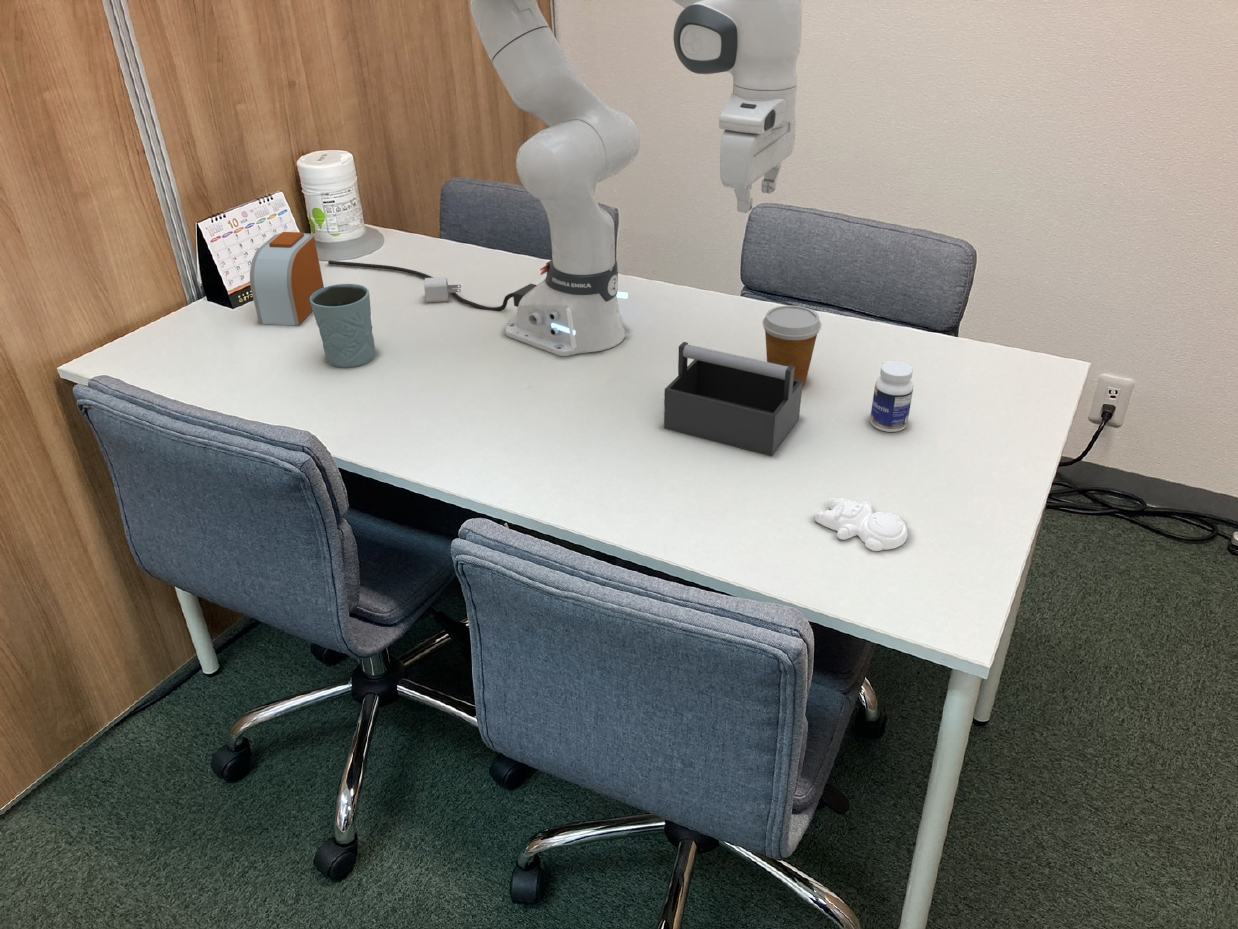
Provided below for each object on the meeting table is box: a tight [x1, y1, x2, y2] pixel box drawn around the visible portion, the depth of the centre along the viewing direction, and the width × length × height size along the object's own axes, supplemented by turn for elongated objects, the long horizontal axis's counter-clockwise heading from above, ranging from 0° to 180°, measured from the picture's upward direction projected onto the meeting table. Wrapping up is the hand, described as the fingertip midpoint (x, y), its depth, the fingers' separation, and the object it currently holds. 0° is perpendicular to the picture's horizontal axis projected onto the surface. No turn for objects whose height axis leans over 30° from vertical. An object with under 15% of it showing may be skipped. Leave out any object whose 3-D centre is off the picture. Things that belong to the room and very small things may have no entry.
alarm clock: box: [249, 231, 325, 327], centre depth 191 cm, size 15×8×14 cm, turn 172°
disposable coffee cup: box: [762, 304, 822, 388], centre depth 164 cm, size 10×10×12 cm
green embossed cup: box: [310, 283, 376, 369], centre depth 174 cm, size 10×10×12 cm
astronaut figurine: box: [814, 497, 908, 552], centre depth 132 cm, size 9×12×3 cm
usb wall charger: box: [423, 276, 462, 303], centre depth 197 cm, size 4×7×4 cm, turn 96°
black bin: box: [663, 341, 803, 457], centre depth 153 cm, size 18×12×12 cm, turn 62°
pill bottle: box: [869, 360, 914, 433], centre depth 153 cm, size 6×6×10 cm
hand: (756, 201), depth 147 cm, fingers open, 8 cm apart
